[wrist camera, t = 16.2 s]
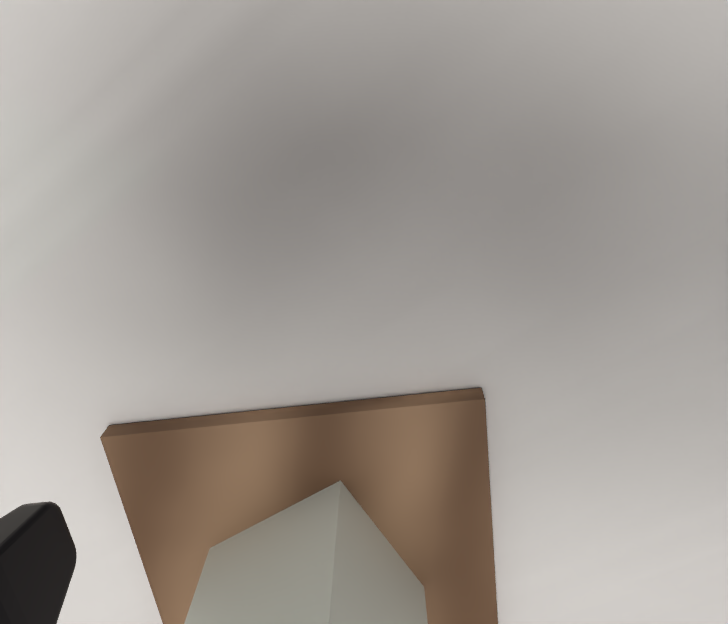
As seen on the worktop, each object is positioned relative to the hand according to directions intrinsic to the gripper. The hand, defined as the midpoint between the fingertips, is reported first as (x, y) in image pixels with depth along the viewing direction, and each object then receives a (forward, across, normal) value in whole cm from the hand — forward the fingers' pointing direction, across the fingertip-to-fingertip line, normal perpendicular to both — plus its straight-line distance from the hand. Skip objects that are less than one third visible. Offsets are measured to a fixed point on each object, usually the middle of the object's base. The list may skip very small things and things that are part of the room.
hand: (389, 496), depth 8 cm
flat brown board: (+13, +4, +13) cm, 19 cm away
